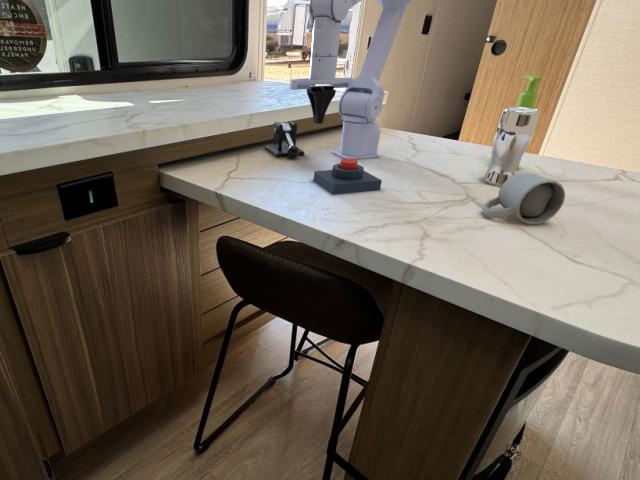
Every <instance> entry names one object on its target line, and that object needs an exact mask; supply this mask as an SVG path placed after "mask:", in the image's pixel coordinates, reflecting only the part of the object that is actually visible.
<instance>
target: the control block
mask: <svg viewBox="0 0 640 480" xmlns="http://www.w3.org/2000/svg"><path fill="white" fill-rule="evenodd" d="M313 172H314V173H313V182H315V184H317V185H319V186H320V187H322V188H323V189H324V190H325V191H327V192H328V193H330V194H331V195H333V196H334V195H344V194H354V193H356V194H357V193H364V192H365V193H366V192H374V191H376V192H377V191H380V190H381V187H382V181H383V180H382V179H380V178H378V177H377V176H375V175H373V174H371V173H369V172H367V171H366V170H365V167H364V166H362V165H361V164H357V169H356V170H344V169H340V163H336V164H333V165H332V169H325V170H315V171H313Z"/></svg>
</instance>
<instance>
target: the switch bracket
mask: <svg viewBox="0 0 640 480" xmlns="http://www.w3.org/2000/svg"><path fill="white" fill-rule="evenodd" d="M287 123H289V126H290V128H291V132H290V137H291V139H292V142H293V145H294V146H296V144H297V131H298V130H297V129H298V124H297V123H296V122H293V121H291V120H288V121H287ZM282 133H283V125H282V124H281V122H278V121H273V141H272V144H265V145H264V150H265V151H266V152H267V153H269V154H270V155H272V156H273V157H275V158H277V159H279V158H291V157H290V156H289V155H288V149H289V146H288V144H287V143H283V137H282ZM298 149H299V154H298V156H297V157H305V151H304V150H302V149H300V148H299V147H298Z"/></svg>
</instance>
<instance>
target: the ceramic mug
mask: <svg viewBox="0 0 640 480" xmlns="http://www.w3.org/2000/svg"><path fill="white" fill-rule="evenodd" d="M497 195H498V196H496V197H494V198H492V199H490V200H487V201H486V202H485V203H484V204H483V205H482V209H483V215H484V216H485V217H487V218H489V219H503V218H507V217H511V216H513V217H515V218H516V219H517V220H519V221H520V222H522V223H524V224H527V225H540V224H543V223H546V222H547V221H550V220H551V219H552V218H553V217H555V216H556V214H557V213H559V211H560V210H561V208H562V207H563V205H564V202H565V198H566V191H565V188H564V185H562V183H560V182H558V181H557V180H553V179H551V178H548V177H544V176H541V175H539V174H536V173H533V172H532V173H531V172H520V173H515V175H513V176H511V177H510V178H508V179H507V180H506V181H505V182H504V183H503V185H502V186H500V188H499V190H498V194H497ZM498 205H500V206H501V207H502V209H491V208H493V207H497V206H498Z"/></svg>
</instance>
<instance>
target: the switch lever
mask: <svg viewBox="0 0 640 480" xmlns="http://www.w3.org/2000/svg"><path fill="white" fill-rule="evenodd" d="M280 124H282V125H283V133H282V138H285V141H286V144H288V146H289V149H288V155H289V156H290V157H289V158H297V157H299V156H298V154H299V149H300V148H299V147H298V146H294V145H293V142H292V139H291V137H290V132H291V128H290V126H289V123H288V122H280ZM298 148H299V149H298Z"/></svg>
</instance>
